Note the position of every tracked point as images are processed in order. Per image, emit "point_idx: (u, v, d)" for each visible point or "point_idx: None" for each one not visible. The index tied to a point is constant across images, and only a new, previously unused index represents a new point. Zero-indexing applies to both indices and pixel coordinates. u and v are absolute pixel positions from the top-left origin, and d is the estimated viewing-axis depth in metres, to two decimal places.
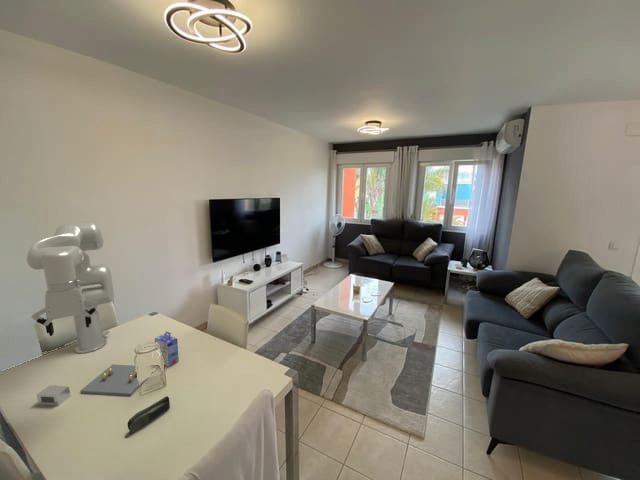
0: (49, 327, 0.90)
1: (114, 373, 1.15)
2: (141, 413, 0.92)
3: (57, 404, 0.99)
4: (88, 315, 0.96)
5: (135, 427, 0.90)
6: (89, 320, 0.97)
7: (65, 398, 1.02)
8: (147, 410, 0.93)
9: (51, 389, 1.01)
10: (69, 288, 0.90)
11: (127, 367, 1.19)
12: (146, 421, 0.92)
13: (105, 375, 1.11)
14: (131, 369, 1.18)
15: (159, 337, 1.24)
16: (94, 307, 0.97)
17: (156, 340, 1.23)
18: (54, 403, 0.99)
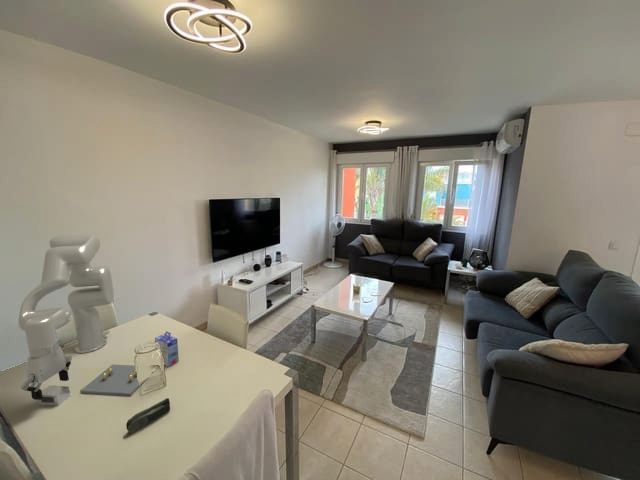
0: (40, 391, 0.95)
1: (114, 373, 1.15)
2: (140, 415, 0.91)
3: (57, 404, 0.99)
4: (67, 369, 1.05)
5: (134, 428, 0.89)
6: None
7: (65, 398, 1.02)
8: (146, 412, 0.92)
9: (51, 389, 1.01)
10: (58, 347, 0.99)
11: (127, 367, 1.19)
12: (145, 423, 0.92)
13: (105, 375, 1.11)
14: (131, 369, 1.18)
15: (159, 337, 1.24)
16: (69, 360, 1.06)
17: (156, 340, 1.23)
18: (54, 403, 0.99)
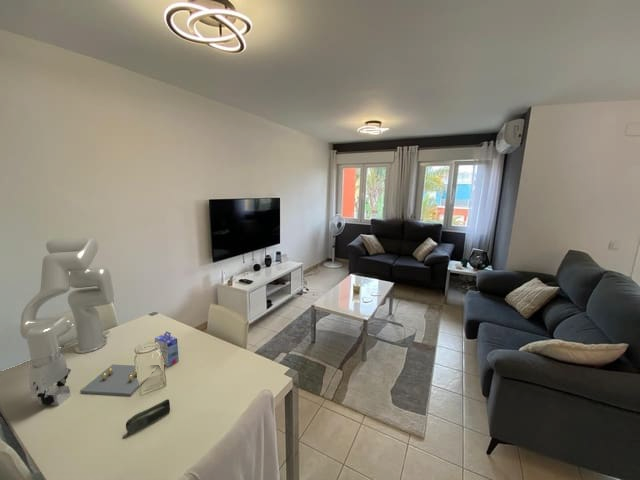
0: (49, 397, 0.98)
1: (114, 373, 1.15)
2: (140, 415, 0.91)
3: (57, 404, 0.99)
4: (64, 382, 1.04)
5: (133, 429, 0.89)
6: None
7: (65, 398, 1.02)
8: (145, 412, 0.92)
9: (51, 389, 1.01)
10: (59, 355, 1.00)
11: (127, 367, 1.19)
12: (144, 423, 0.91)
13: (105, 375, 1.11)
14: (131, 369, 1.18)
15: (159, 337, 1.24)
16: None
17: (156, 340, 1.23)
18: (54, 403, 0.99)
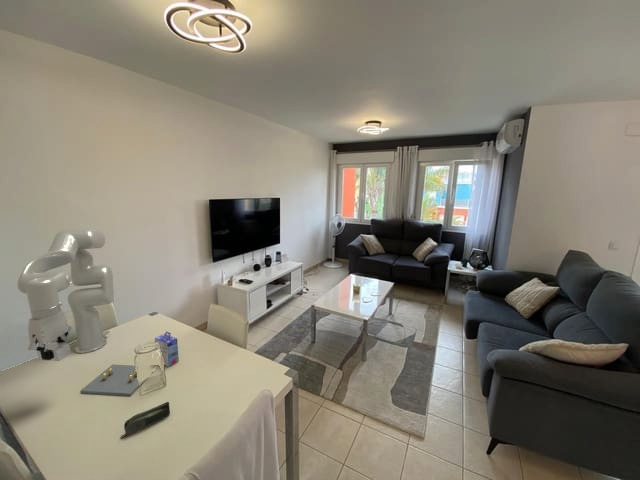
0: (49, 351, 0.96)
1: (114, 373, 1.15)
2: (138, 416, 0.90)
3: (57, 359, 0.97)
4: (64, 339, 1.02)
5: (131, 430, 0.89)
6: None
7: (65, 354, 0.99)
8: (144, 414, 0.91)
9: (51, 344, 0.99)
10: (60, 310, 0.98)
11: (127, 367, 1.19)
12: (142, 425, 0.91)
13: (105, 375, 1.11)
14: (131, 369, 1.18)
15: (159, 337, 1.24)
16: (68, 331, 1.03)
17: (156, 340, 1.23)
18: (54, 358, 0.97)
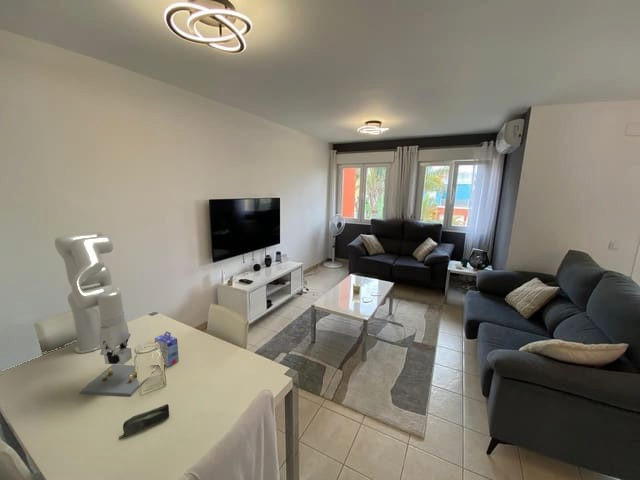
0: (116, 356, 1.07)
1: (114, 373, 1.15)
2: (137, 418, 0.90)
3: (122, 363, 1.08)
4: (126, 345, 1.13)
5: (129, 431, 0.88)
6: None
7: (128, 358, 1.11)
8: (143, 415, 0.91)
9: (115, 350, 1.10)
10: (124, 318, 1.09)
11: (127, 367, 1.19)
12: (141, 427, 0.90)
13: (105, 375, 1.11)
14: (131, 369, 1.18)
15: (159, 337, 1.24)
16: (128, 337, 1.15)
17: (156, 340, 1.23)
18: (119, 362, 1.08)
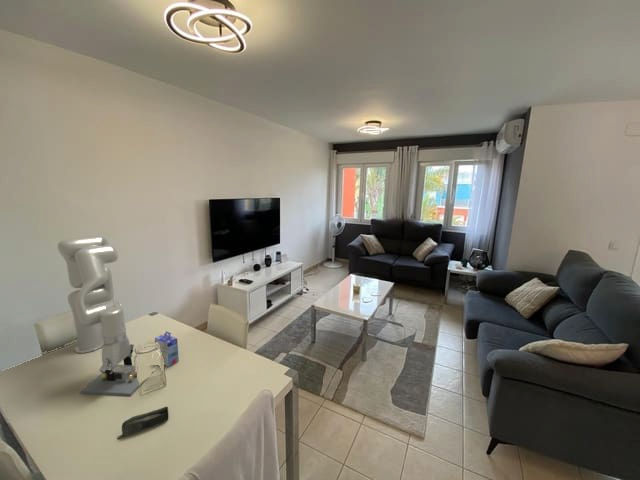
0: (114, 373, 1.07)
1: None
2: (135, 419, 0.89)
3: (124, 380, 1.10)
4: (130, 356, 1.16)
5: (128, 431, 0.88)
6: None
7: None
8: (141, 417, 0.90)
9: (118, 367, 1.12)
10: (126, 335, 1.11)
11: None
12: (139, 428, 0.90)
13: (105, 375, 1.11)
14: None
15: (159, 337, 1.24)
16: (132, 348, 1.18)
17: (156, 340, 1.23)
18: (122, 379, 1.10)
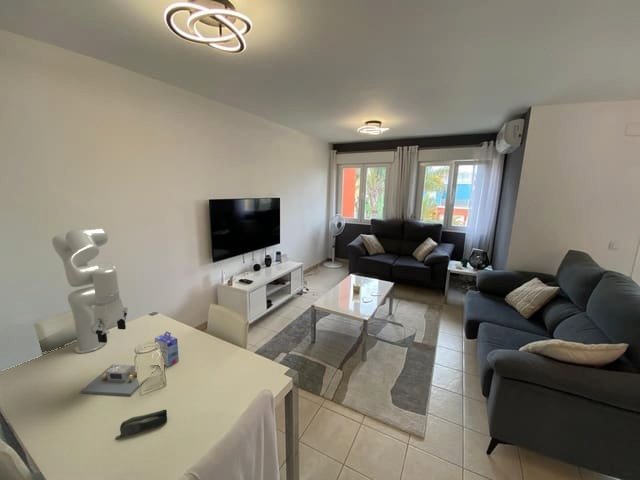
0: (105, 334, 1.04)
1: None
2: (133, 420, 0.89)
3: (124, 380, 1.10)
4: (124, 318, 1.14)
5: (125, 432, 0.88)
6: None
7: None
8: (139, 419, 0.90)
9: (118, 367, 1.12)
10: (119, 297, 1.08)
11: None
12: (136, 430, 0.89)
13: (105, 375, 1.11)
14: None
15: (159, 337, 1.24)
16: (125, 311, 1.15)
17: (156, 340, 1.23)
18: (122, 379, 1.10)
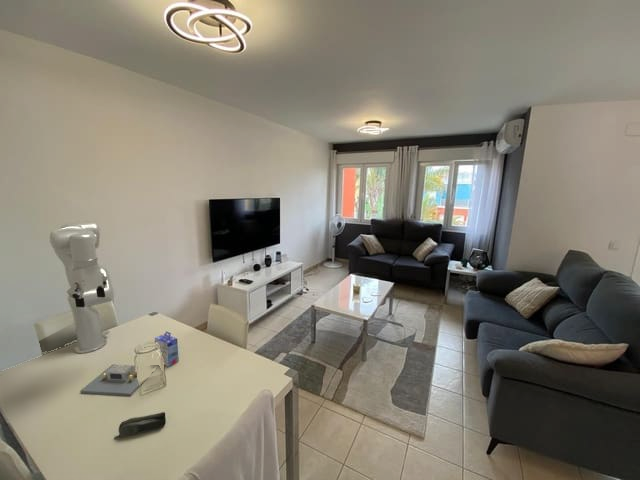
0: (83, 299, 1.05)
1: None
2: (132, 421, 0.88)
3: (124, 380, 1.10)
4: (103, 286, 1.15)
5: (124, 433, 0.88)
6: None
7: None
8: (138, 420, 0.89)
9: (118, 367, 1.12)
10: (97, 263, 1.09)
11: None
12: (134, 431, 0.88)
13: (105, 375, 1.11)
14: None
15: (159, 337, 1.24)
16: (105, 280, 1.16)
17: (156, 340, 1.23)
18: (122, 379, 1.10)
